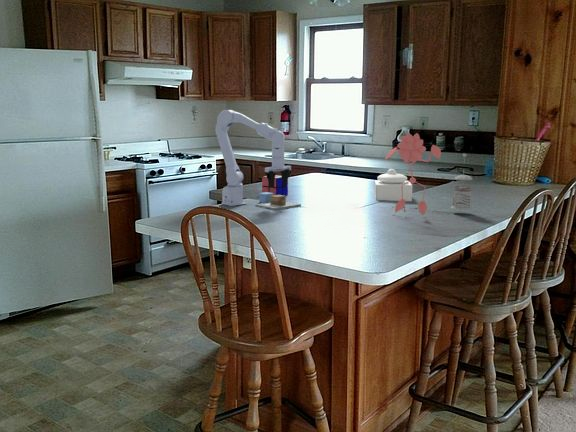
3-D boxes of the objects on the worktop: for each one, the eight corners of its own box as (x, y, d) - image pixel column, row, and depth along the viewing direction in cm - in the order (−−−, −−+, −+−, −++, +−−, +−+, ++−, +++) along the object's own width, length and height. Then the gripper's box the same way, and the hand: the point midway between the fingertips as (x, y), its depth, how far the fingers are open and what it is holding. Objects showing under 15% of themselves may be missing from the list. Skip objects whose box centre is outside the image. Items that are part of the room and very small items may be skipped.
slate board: (275, 210, 261) (274, 208, 261) (255, 206, 271) (255, 204, 271) (300, 206, 272) (300, 204, 272) (281, 202, 282) (281, 200, 282)
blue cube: (265, 204, 277) (265, 194, 277) (259, 203, 281) (259, 193, 280) (273, 203, 281) (273, 193, 280) (267, 202, 284) (267, 192, 283)
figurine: (388, 209, 263) (390, 131, 257) (443, 215, 249) (447, 133, 242) (372, 214, 251) (374, 133, 245) (429, 221, 236) (433, 134, 230)
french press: (473, 210, 262) (477, 154, 257) (447, 209, 264) (450, 154, 259) (471, 206, 271) (474, 153, 267) (446, 205, 274) (448, 152, 269)
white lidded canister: (408, 197, 299) (409, 166, 297) (411, 203, 282) (413, 170, 279) (373, 197, 301) (374, 166, 298) (375, 202, 284) (376, 170, 281)
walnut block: (277, 205, 268) (277, 197, 267) (270, 204, 272) (270, 195, 271) (285, 204, 271) (285, 195, 270) (278, 203, 275) (278, 194, 274)
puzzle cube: (276, 197, 300) (276, 178, 298) (261, 195, 306) (261, 176, 304) (288, 195, 307) (288, 176, 306) (273, 193, 313) (273, 174, 312)
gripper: (271, 158, 260) (271, 188, 262) (295, 156, 269) (295, 185, 272) (261, 157, 265) (262, 187, 267) (285, 156, 274) (285, 184, 277)
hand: (278, 186), depth 270 cm, fingers open, 7 cm apart
